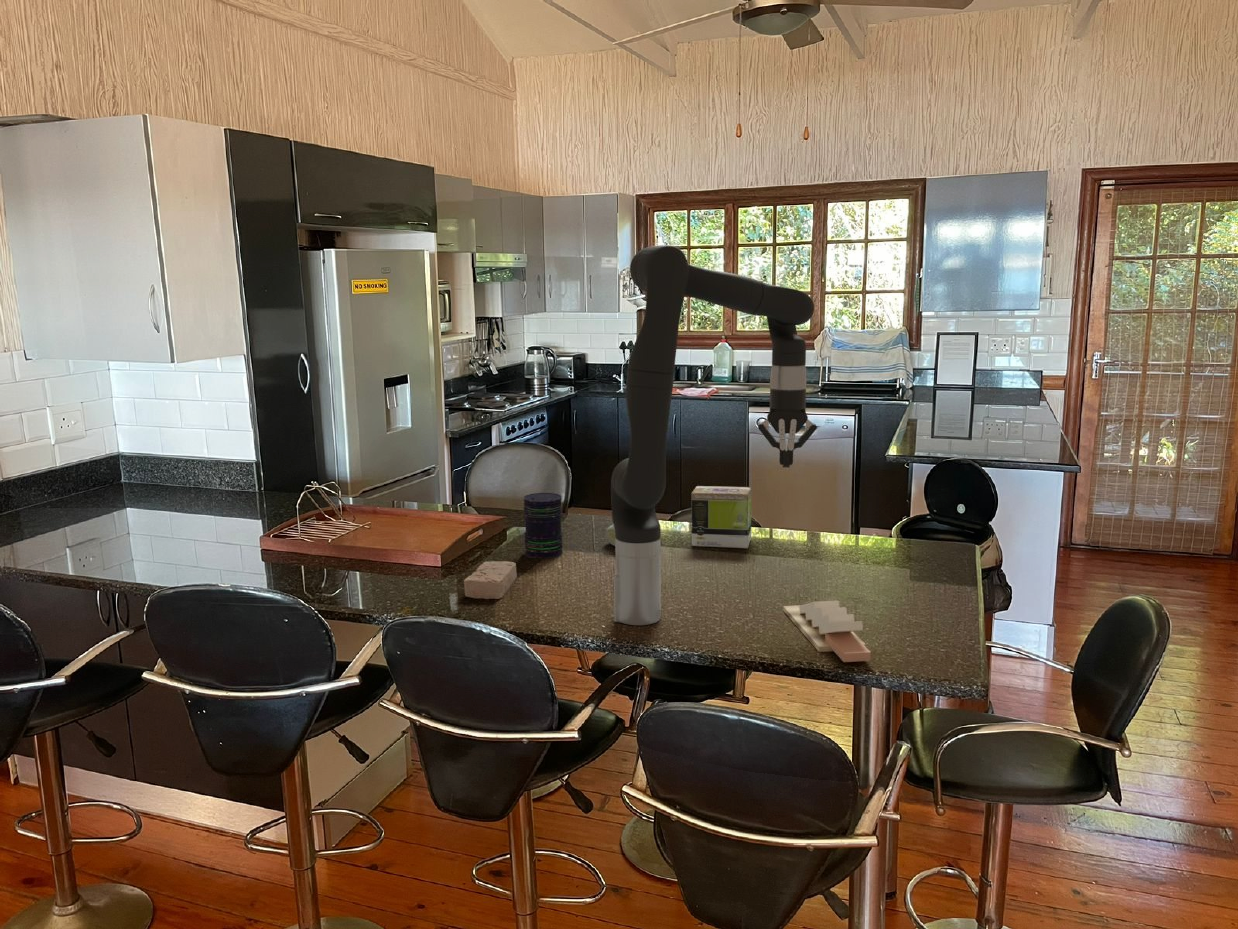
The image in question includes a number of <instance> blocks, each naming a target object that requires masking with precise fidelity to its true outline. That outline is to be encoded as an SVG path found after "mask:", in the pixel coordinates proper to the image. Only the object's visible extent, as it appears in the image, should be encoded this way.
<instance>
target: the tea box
mask: <svg viewBox="0 0 1238 929" xmlns="http://www.w3.org/2000/svg"><path fill="white" fill-rule="evenodd" d="M690 495H691V496H690V498H691V499H690V500H691V502H690V503H691V506H690V507H691V508H690V509H691V514H690V516H691V546H692V547H711V548H712V547H713V548H714V547H715V548H733V549H734V548H735V549H748V548H749V545H750V543H751V539H752V487H751V486H720V485H719V486H717V485H713V486H712V485H711V486H709V485H708V486H707V485H706V486H705V485H697V486H695V488H694V489H693V491H692V492H691V494H690Z"/></svg>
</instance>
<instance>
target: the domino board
mask: <svg viewBox="0 0 1238 929" xmlns="http://www.w3.org/2000/svg"><path fill="white" fill-rule="evenodd" d="M801 605H802V604H800V605H799V604H798V605H794V604H793V605H783V606H782V611H783V612H784V613H785V615H786V616H789V617H788V618H789V619H790V620H791V621H792V622H793V624H794V625H795V626H796V627H797V628H798V630H799V631H800V632H801V633H802V634H803V635H804V636H805V638H806V639H807V640H808V641H809V642H810V643H811V644H812V646H813V647H814V648H815V649H816V650H817V651H818V652H819V653H823V652H825V653H826V652H834V651H833V650H832V648H831V647H830V646H829V645H828V644H827V643H826V642H825V634H819V627H812V620H807V621H806V614H800V610H799V606H801ZM851 633H852V634H853V635H854V636H855V637H856V638H857V639H858V640H859V641H860V642H861V643H862V644H863V645H864V646H865V647H866V648H867V646H866V645H867V644H866V643H865V642H864V641H863V640H862V639H861V638H860V637H859V635H857V634H856V633H855V631H854V632H851Z"/></svg>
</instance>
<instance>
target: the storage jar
mask: <svg viewBox="0 0 1238 929" xmlns="http://www.w3.org/2000/svg"><path fill="white" fill-rule="evenodd" d="M562 498H563V497H562V495H561V494H558V493H553V492H538V493H537V492H536V493H530V494H526V495H524V496H523V520H524V522H525V523H524V524H525V533H524V548H525V557H528V558H532V559H536V558H540V559H539V560H542V559H543V558H548V559H553V558H559V557H560V556H562V555H563V554H564V551H563V550H564V549H563V546H564V545H563V544H564V538H563V536H564V535H563V531H562V519H563V505H562V504H563V502H562ZM541 558H542V559H541ZM543 560H544V559H543Z"/></svg>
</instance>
